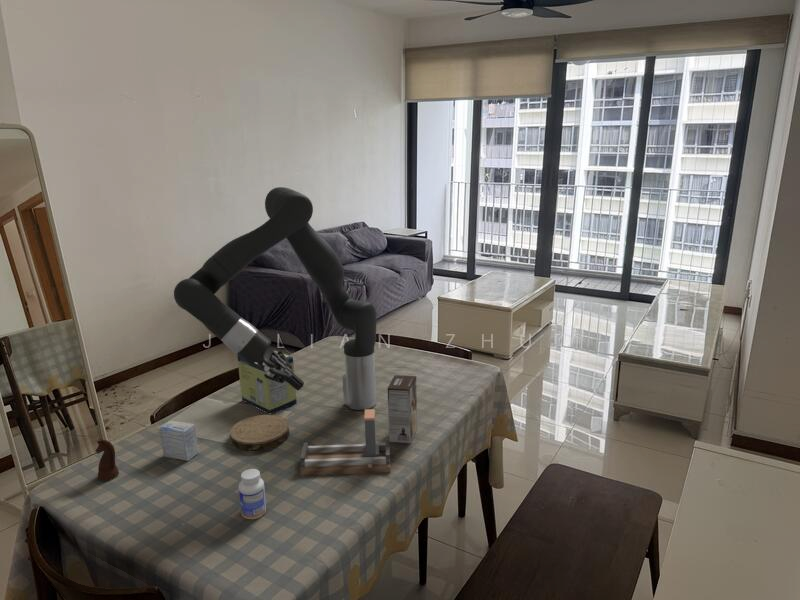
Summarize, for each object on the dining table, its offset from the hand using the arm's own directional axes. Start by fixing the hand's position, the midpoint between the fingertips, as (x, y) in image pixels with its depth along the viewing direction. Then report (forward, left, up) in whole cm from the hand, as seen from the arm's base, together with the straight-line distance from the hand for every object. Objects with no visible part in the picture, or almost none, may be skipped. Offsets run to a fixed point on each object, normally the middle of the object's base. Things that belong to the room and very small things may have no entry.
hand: (301, 386), depth 135 cm
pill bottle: (+2, -21, -21) cm, 30 cm away
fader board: (+9, +5, -21) cm, 24 cm away
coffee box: (+15, +24, -22) cm, 36 cm away
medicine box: (-32, -12, -22) cm, 41 cm away
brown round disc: (-20, +5, -22) cm, 30 cm away
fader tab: (+14, +8, -20) cm, 26 cm away
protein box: (-33, +23, -22) cm, 46 cm away
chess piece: (-40, -27, -21) cm, 53 cm away
